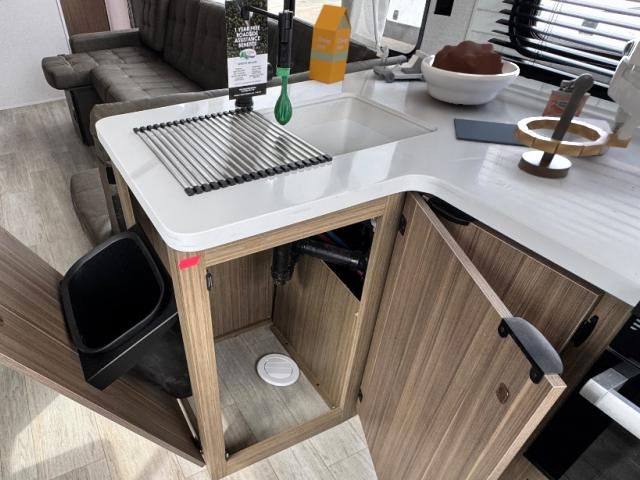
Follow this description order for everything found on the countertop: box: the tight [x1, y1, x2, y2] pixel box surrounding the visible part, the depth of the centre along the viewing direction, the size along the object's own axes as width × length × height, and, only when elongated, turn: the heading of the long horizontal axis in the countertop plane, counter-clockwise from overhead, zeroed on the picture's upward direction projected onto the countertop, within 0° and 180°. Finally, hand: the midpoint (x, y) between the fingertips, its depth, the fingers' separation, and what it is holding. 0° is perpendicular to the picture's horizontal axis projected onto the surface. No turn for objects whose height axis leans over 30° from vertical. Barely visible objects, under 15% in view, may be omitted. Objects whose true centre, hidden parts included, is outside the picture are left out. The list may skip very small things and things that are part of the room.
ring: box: [513, 116, 633, 158], centre depth 85 cm, size 19×16×2 cm
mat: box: [453, 117, 529, 148], centre depth 105 cm, size 16×14×1 cm
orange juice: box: [308, 4, 352, 85], centre depth 135 cm, size 8×9×20 cm
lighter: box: [539, 78, 591, 118], centre depth 108 cm, size 8×3×10 cm, turn 55°
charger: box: [562, 116, 614, 155], centre depth 96 cm, size 5×9×15 cm
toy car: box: [372, 44, 431, 84], centre depth 140 cm, size 18×10×12 cm
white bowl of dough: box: [421, 39, 520, 106], centre depth 120 cm, size 25×25×15 cm
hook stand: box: [517, 73, 595, 179], centre depth 84 cm, size 9×9×18 cm
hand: (618, 135), depth 82 cm, fingers closed on ring, 1 cm apart
